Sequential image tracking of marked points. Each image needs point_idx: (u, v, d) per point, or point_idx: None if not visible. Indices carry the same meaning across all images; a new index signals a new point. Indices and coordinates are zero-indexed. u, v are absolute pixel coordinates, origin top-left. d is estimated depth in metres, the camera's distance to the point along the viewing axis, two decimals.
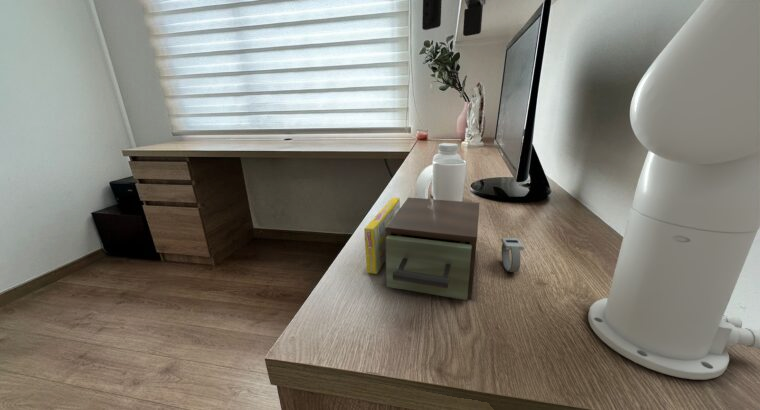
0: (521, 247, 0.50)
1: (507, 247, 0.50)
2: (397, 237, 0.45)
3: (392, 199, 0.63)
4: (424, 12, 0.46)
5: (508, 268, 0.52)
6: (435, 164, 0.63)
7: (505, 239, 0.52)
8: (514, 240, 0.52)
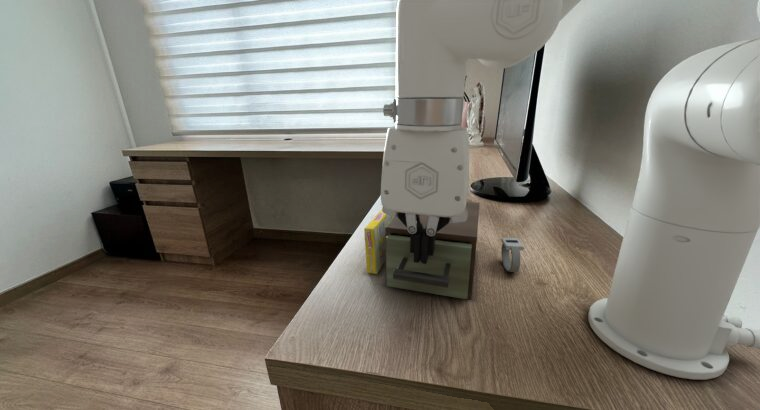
0: (521, 247, 0.50)
1: (507, 247, 0.50)
2: (397, 237, 0.45)
3: None
4: None
5: (508, 268, 0.52)
6: None
7: (505, 239, 0.52)
8: (514, 240, 0.52)
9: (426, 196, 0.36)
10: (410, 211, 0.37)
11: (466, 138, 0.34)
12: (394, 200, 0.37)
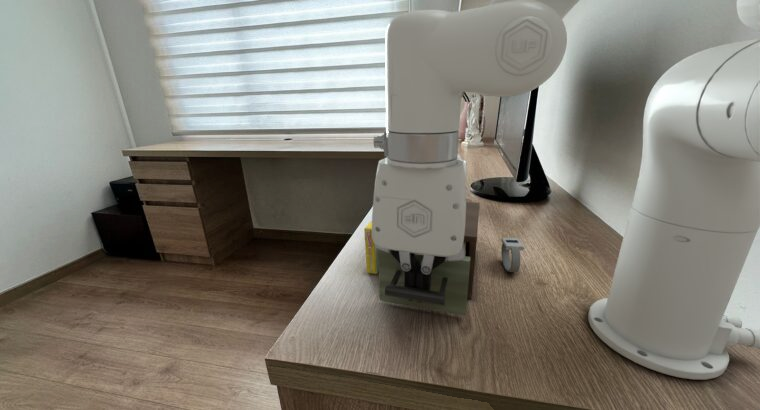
0: (521, 247, 0.50)
1: (507, 247, 0.50)
2: None
3: None
4: None
5: (508, 268, 0.52)
6: None
7: (505, 239, 0.52)
8: (514, 240, 0.52)
9: (420, 235, 0.34)
10: (403, 249, 0.35)
11: (462, 174, 0.31)
12: (386, 238, 0.35)
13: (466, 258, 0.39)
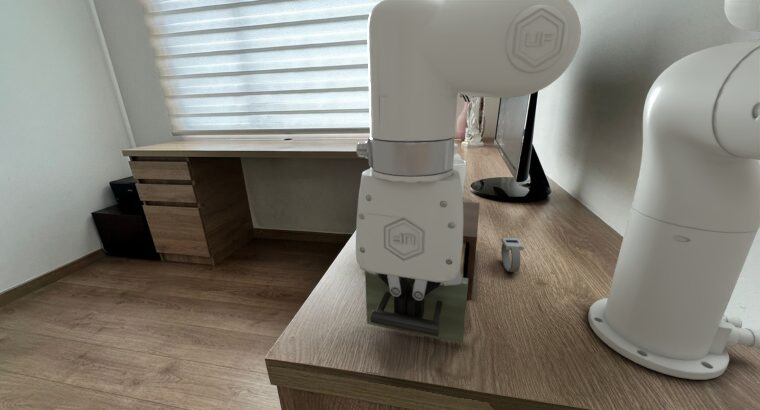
0: (521, 247, 0.50)
1: (507, 247, 0.50)
2: None
3: None
4: None
5: (508, 268, 0.52)
6: None
7: (505, 239, 0.52)
8: (514, 240, 0.52)
9: (410, 257, 0.29)
10: (391, 273, 0.30)
11: (458, 188, 0.27)
12: (372, 260, 0.30)
13: (463, 280, 0.34)
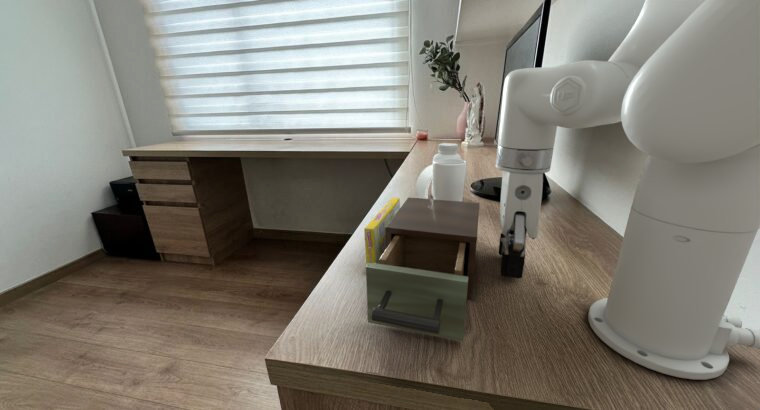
0: None
1: None
2: (379, 265, 0.37)
3: (392, 199, 0.63)
4: (509, 267, 0.48)
5: None
6: (435, 164, 0.63)
7: None
8: None
9: None
10: None
11: None
12: None
13: (463, 278, 0.34)
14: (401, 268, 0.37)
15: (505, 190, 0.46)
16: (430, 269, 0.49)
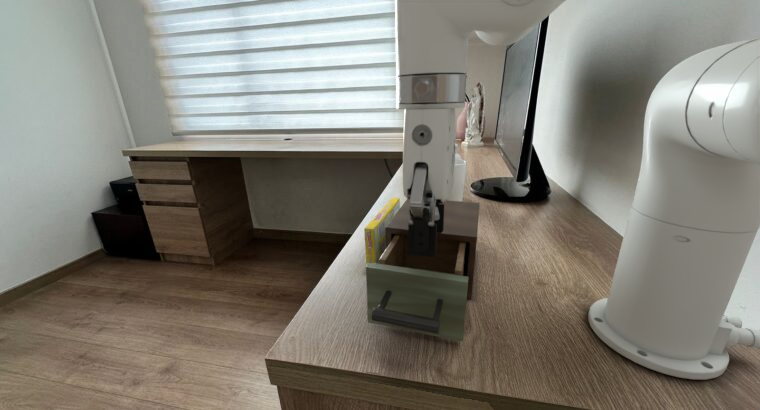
0: (436, 216, 0.38)
1: None
2: (379, 265, 0.37)
3: (392, 199, 0.63)
4: (417, 241, 0.36)
5: None
6: None
7: None
8: None
9: (453, 172, 0.37)
10: (450, 192, 0.36)
11: None
12: (449, 187, 0.34)
13: (463, 278, 0.34)
14: (401, 268, 0.37)
15: (403, 135, 0.34)
16: (430, 269, 0.49)
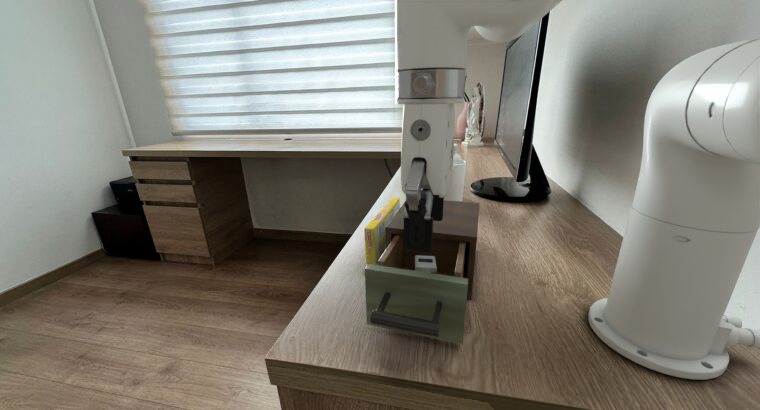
0: (433, 269, 0.40)
1: (416, 268, 0.40)
2: (378, 267, 0.37)
3: (392, 199, 0.63)
4: (412, 235, 0.35)
5: None
6: None
7: (419, 257, 0.43)
8: (429, 259, 0.42)
9: (451, 168, 0.37)
10: (448, 188, 0.36)
11: None
12: (447, 183, 0.34)
13: (463, 280, 0.34)
14: (400, 270, 0.36)
15: None
16: None
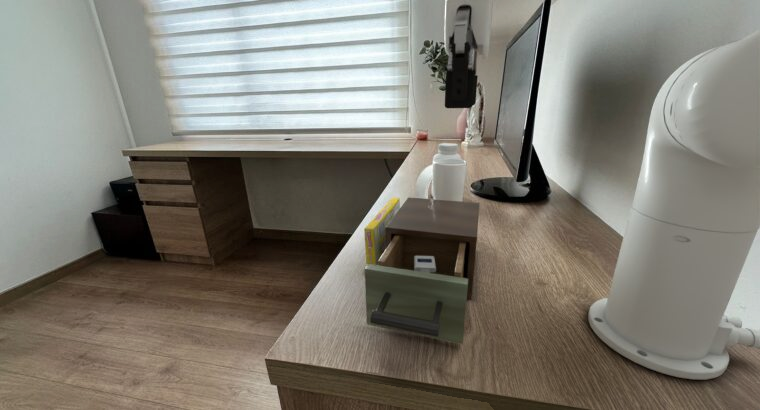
0: (432, 269, 0.40)
1: (415, 268, 0.40)
2: (378, 267, 0.37)
3: (392, 199, 0.63)
4: (455, 89, 0.36)
5: None
6: (435, 164, 0.63)
7: (418, 257, 0.43)
8: (428, 259, 0.42)
9: None
10: (487, 51, 0.38)
11: None
12: None
13: (463, 280, 0.34)
14: (400, 270, 0.36)
15: None
16: None
